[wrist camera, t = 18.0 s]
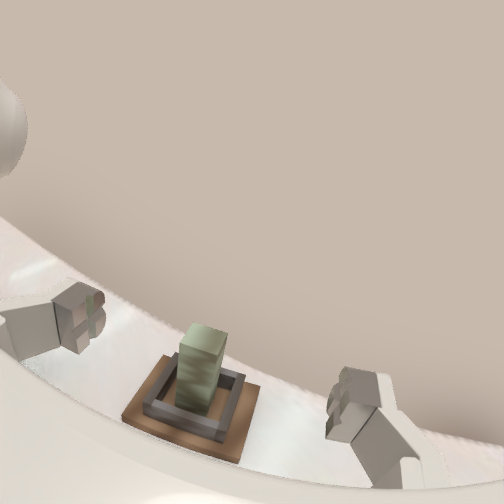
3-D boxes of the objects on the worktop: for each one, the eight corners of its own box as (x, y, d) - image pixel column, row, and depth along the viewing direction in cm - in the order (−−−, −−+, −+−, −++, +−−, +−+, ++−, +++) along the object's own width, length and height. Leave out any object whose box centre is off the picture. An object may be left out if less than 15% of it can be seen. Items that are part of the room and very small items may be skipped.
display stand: (122, 421, 34) (119, 401, 32) (163, 361, 47) (164, 340, 45) (237, 463, 32) (244, 447, 31) (258, 392, 45) (264, 372, 43)
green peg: (174, 407, 37) (179, 342, 33) (185, 386, 41) (193, 322, 37) (205, 418, 37) (217, 355, 32) (214, 396, 41) (227, 333, 36)
